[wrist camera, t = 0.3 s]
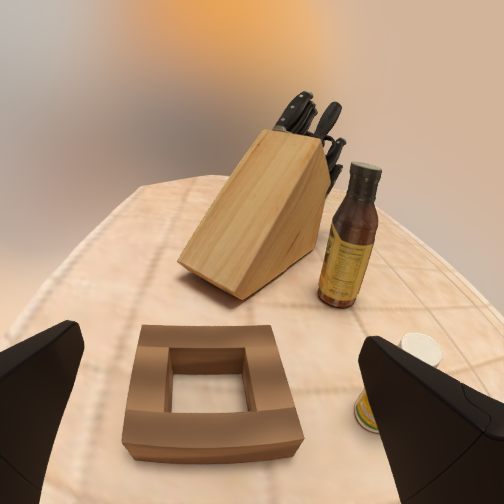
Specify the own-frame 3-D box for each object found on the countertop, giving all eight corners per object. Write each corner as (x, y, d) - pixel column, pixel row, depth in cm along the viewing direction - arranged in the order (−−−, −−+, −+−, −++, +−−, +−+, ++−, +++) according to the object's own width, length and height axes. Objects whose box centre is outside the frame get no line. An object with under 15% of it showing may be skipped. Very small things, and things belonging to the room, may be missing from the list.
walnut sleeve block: (293, 456, 18) (304, 438, 16) (135, 459, 16) (121, 442, 14) (265, 351, 29) (270, 325, 28) (147, 351, 27) (142, 324, 25)
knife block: (333, 237, 61) (356, 101, 47) (233, 312, 35) (257, 47, 21) (290, 222, 67) (307, 94, 53) (176, 278, 41) (182, 59, 27)
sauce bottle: (327, 281, 44) (353, 158, 35) (361, 297, 40) (395, 170, 32) (307, 298, 39) (335, 158, 30) (344, 317, 36) (384, 171, 27)
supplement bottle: (359, 387, 25) (395, 319, 21) (402, 399, 23) (446, 335, 19) (347, 426, 21) (391, 362, 16) (395, 439, 19) (451, 378, 14)
